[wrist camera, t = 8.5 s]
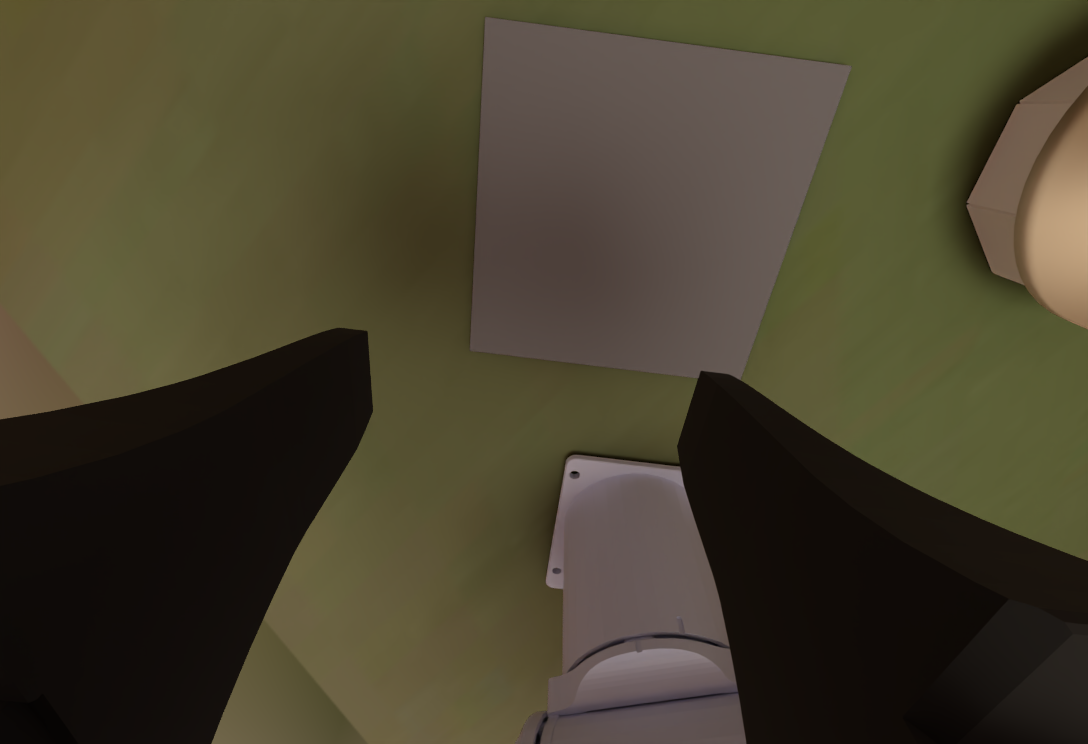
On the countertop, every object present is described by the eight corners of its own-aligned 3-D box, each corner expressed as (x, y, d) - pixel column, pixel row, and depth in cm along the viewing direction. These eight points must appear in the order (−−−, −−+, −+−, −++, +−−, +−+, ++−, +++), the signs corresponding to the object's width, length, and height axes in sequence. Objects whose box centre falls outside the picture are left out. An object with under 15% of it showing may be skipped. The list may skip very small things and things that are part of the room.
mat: (737, 380, 22) (739, 383, 22) (471, 347, 22) (469, 350, 21) (847, 66, 16) (851, 66, 16) (486, 18, 16) (485, 17, 16)
